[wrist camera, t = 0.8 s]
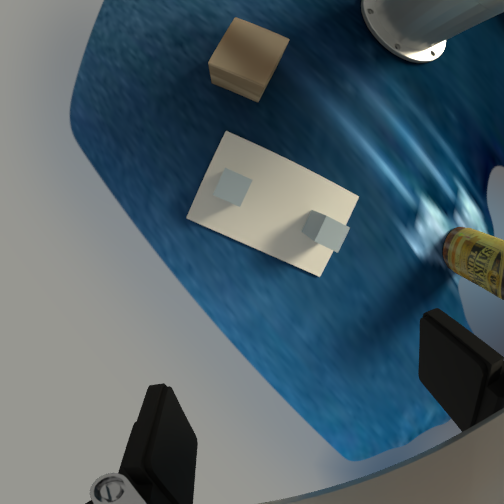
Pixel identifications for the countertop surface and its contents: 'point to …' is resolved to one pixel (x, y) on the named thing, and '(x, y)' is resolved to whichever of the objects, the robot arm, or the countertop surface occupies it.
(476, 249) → the sauce bottle
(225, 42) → the wood grain cube
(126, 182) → the countertop surface
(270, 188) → the post stand
